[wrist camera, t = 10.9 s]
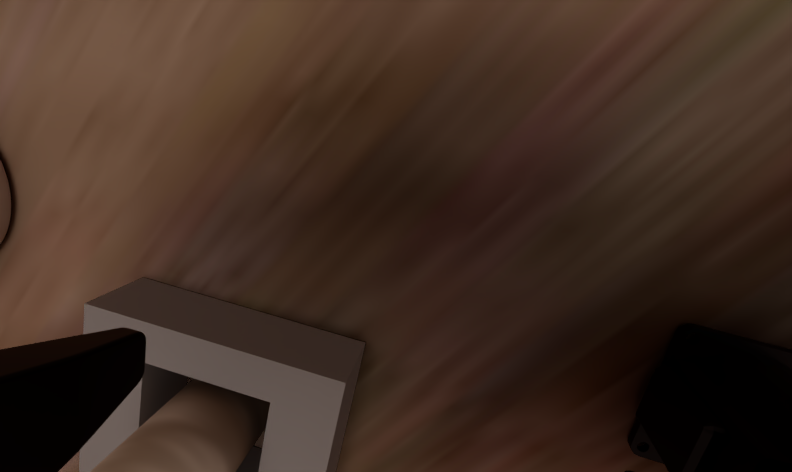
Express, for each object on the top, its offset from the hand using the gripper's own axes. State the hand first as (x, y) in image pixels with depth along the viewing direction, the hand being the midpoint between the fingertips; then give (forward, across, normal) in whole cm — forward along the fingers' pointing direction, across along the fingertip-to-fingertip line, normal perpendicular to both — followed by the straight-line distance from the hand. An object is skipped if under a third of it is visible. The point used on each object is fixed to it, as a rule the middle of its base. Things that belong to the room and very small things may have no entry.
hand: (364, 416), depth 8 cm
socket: (+12, +8, +13) cm, 20 cm away
